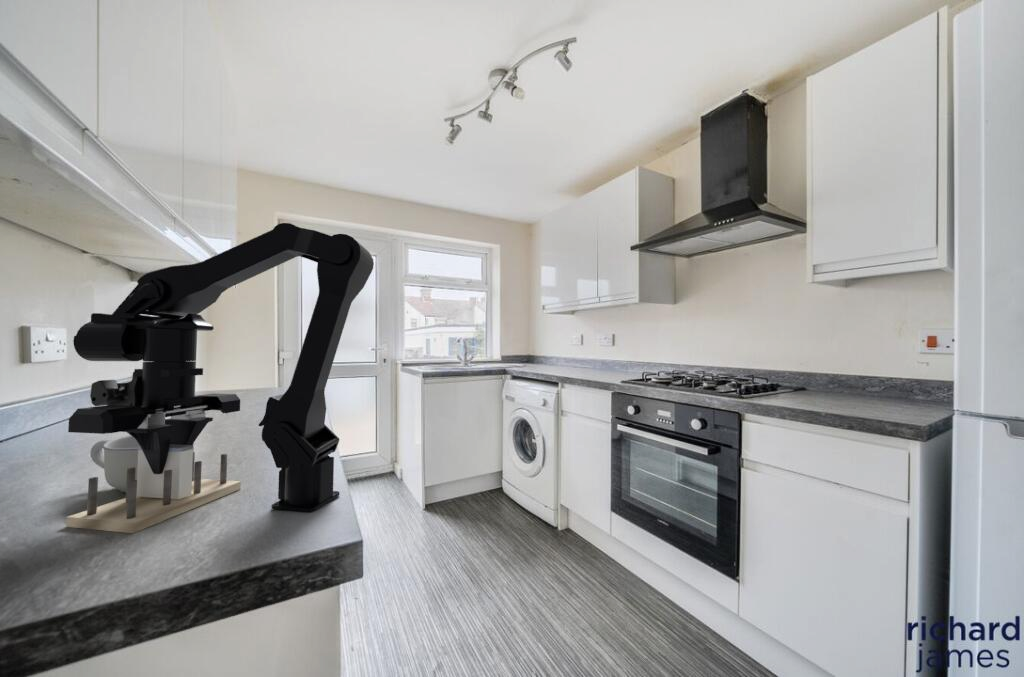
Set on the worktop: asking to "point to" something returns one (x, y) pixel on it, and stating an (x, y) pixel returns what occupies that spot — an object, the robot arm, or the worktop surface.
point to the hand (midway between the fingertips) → (166, 471)
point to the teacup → (117, 459)
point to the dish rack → (150, 502)
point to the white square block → (153, 483)
